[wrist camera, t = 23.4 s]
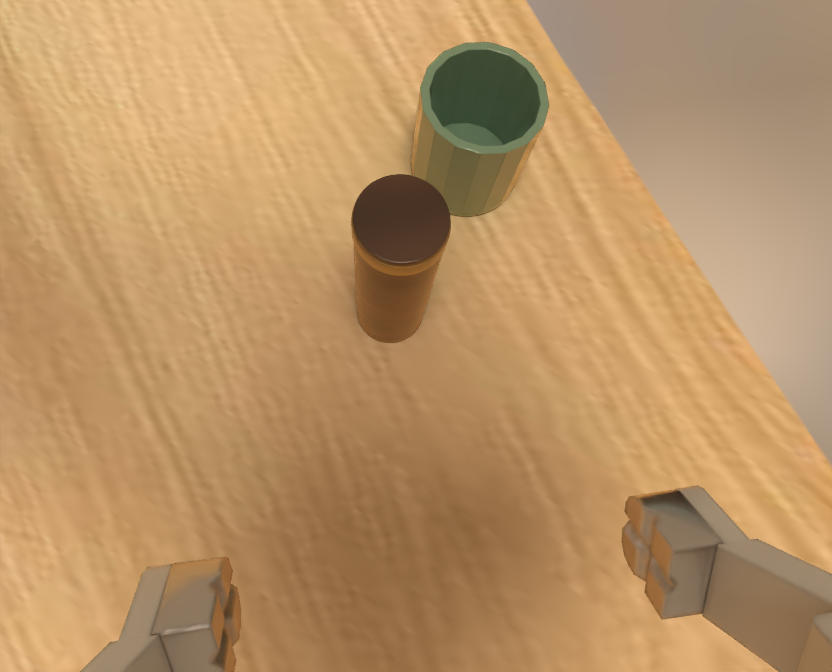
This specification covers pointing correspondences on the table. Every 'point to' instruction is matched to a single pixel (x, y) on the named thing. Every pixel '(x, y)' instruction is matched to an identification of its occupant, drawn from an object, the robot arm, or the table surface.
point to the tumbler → (477, 124)
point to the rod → (397, 253)
